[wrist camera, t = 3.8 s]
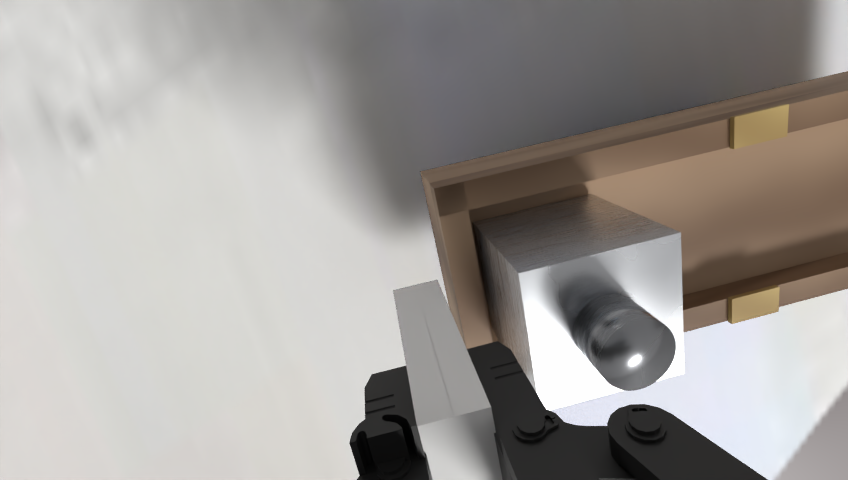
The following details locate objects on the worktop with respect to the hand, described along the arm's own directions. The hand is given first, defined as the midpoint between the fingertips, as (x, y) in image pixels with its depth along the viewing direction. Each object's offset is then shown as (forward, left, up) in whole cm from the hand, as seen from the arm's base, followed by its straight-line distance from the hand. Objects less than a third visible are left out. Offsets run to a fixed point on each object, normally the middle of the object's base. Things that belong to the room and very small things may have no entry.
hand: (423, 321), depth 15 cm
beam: (0, +13, -9) cm, 15 cm away
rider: (0, +5, -2) cm, 5 cm away
